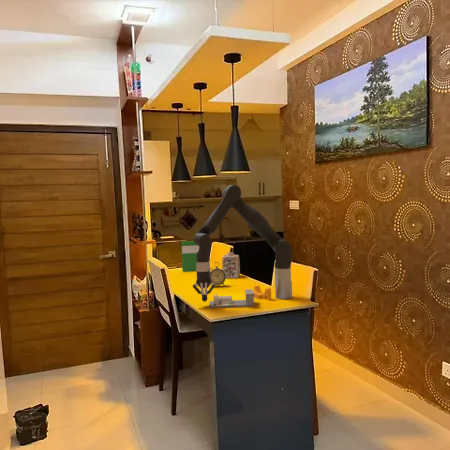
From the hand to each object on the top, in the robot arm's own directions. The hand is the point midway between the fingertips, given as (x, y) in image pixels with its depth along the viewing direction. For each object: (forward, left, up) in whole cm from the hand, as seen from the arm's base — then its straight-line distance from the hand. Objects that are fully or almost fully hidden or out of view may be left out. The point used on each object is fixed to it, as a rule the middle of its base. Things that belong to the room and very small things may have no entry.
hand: (204, 301), depth 228 cm
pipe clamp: (-32, -13, -3) cm, 34 cm away
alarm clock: (-5, -49, -3) cm, 49 cm away
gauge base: (-14, 0, -2) cm, 15 cm away
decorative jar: (-14, -80, -3) cm, 81 cm away
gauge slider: (-10, +1, -1) cm, 10 cm away
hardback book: (+17, -112, -3) cm, 113 cm away
